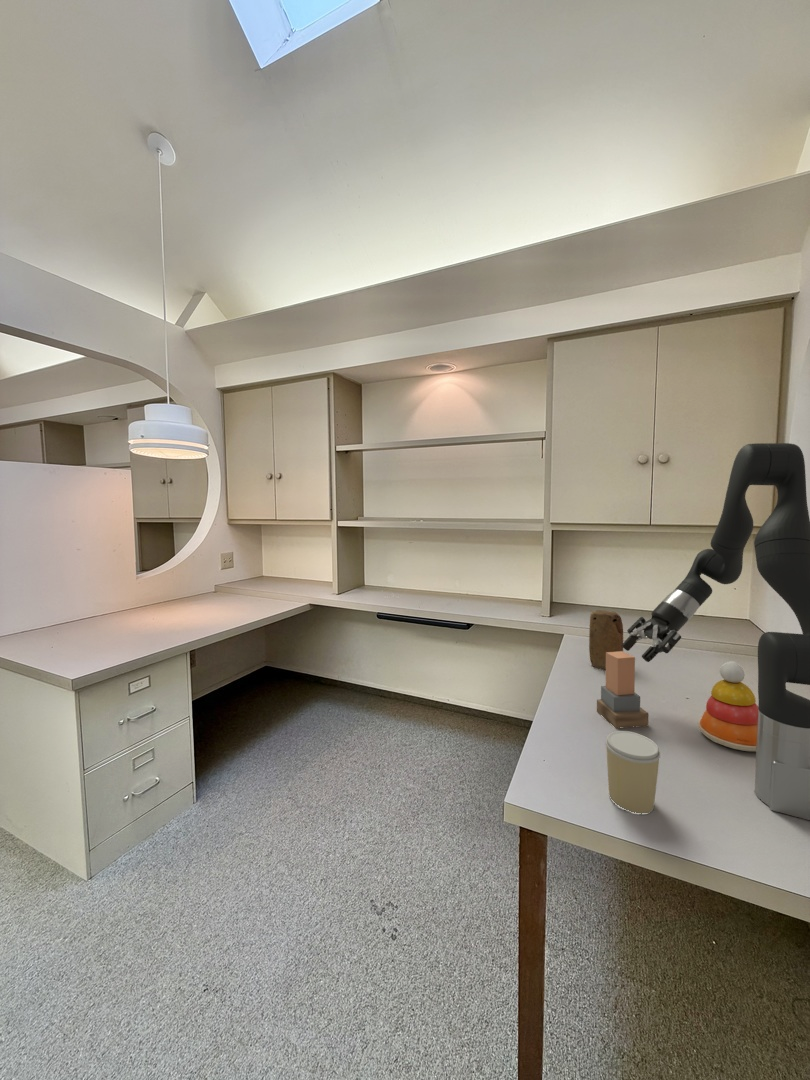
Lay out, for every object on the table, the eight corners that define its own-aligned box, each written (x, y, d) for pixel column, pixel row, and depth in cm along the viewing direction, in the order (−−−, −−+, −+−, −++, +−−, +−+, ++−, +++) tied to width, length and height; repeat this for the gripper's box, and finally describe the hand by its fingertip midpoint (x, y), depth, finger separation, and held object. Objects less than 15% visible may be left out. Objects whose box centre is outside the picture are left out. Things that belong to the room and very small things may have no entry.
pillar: (634, 693, 111) (634, 657, 110) (617, 695, 110) (617, 658, 109) (621, 686, 116) (622, 651, 115) (605, 687, 115) (605, 652, 114)
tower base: (648, 727, 109) (648, 713, 109) (615, 730, 108) (615, 715, 108) (626, 711, 118) (627, 697, 118) (596, 713, 117) (596, 699, 117)
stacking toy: (763, 732, 105) (767, 657, 103) (778, 763, 92) (782, 678, 91) (695, 719, 112) (697, 648, 110) (700, 745, 100) (703, 667, 98)
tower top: (639, 711, 110) (640, 696, 109) (613, 711, 110) (613, 697, 109) (625, 699, 117) (625, 685, 116) (600, 699, 117) (601, 685, 116)
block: (587, 666, 149) (587, 612, 148) (593, 660, 155) (594, 607, 153) (620, 673, 142) (621, 616, 141) (625, 666, 148) (626, 612, 147)
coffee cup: (639, 784, 87) (641, 729, 86) (669, 817, 77) (671, 756, 76) (595, 786, 86) (596, 730, 85) (620, 819, 77) (622, 758, 76)
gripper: (648, 595, 119) (609, 636, 119) (686, 607, 105) (642, 654, 104) (665, 612, 120) (626, 653, 119) (705, 627, 105) (661, 673, 105)
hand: (634, 653), depth 112 cm, fingers open, 8 cm apart
